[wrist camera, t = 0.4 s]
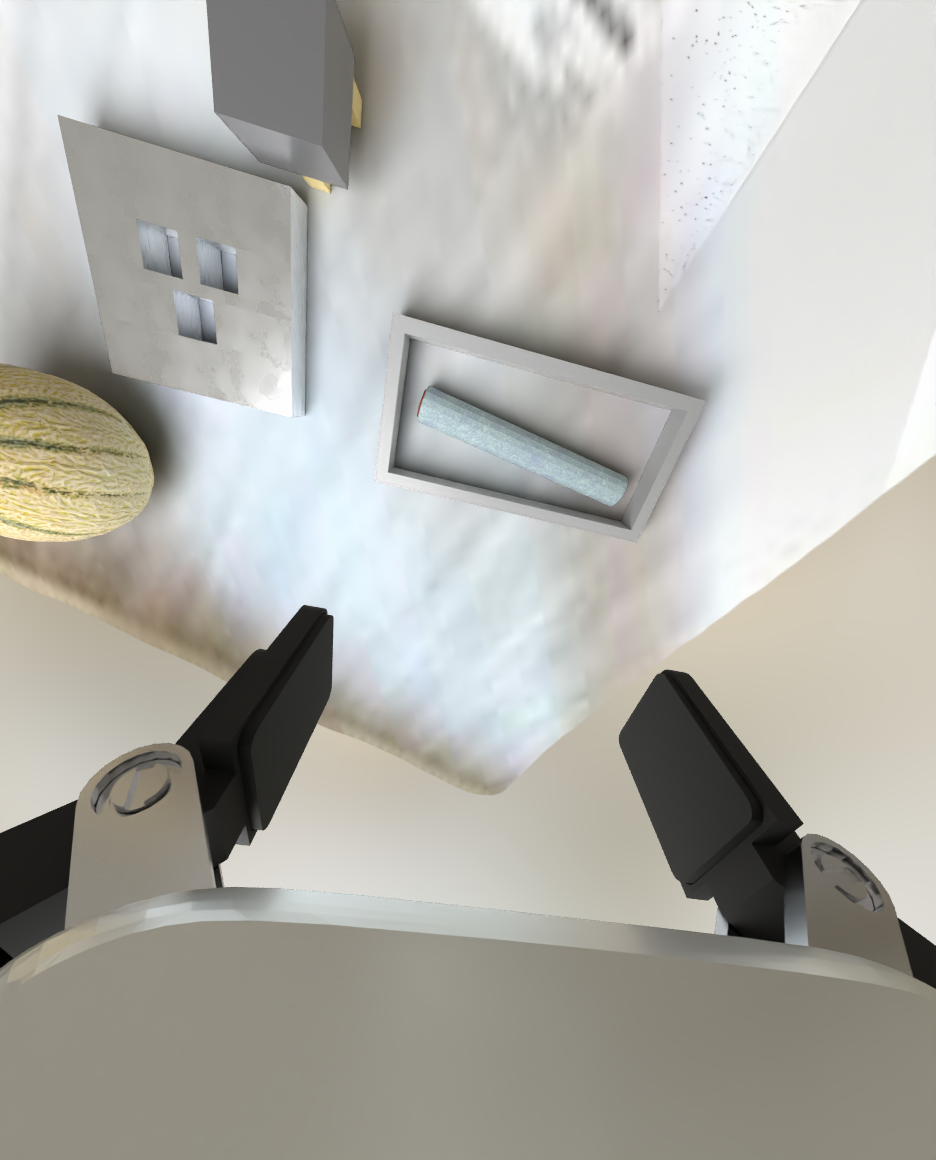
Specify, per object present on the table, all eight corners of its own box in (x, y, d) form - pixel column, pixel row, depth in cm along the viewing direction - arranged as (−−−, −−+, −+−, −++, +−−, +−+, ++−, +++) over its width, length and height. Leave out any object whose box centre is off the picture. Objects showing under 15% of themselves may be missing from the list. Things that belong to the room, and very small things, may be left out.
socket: (98, 142, 27) (57, 114, 24) (307, 206, 28) (290, 186, 26) (140, 375, 34) (112, 373, 32) (305, 415, 36) (291, 417, 33)
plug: (278, 61, 25) (201, -71, 18) (366, 92, 26) (326, -25, 19) (280, 184, 28) (214, 111, 21) (359, 209, 29) (322, 146, 21)
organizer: (399, 319, 32) (392, 312, 29) (688, 400, 35) (706, 400, 32) (381, 475, 38) (374, 481, 36) (626, 533, 41) (636, 542, 39)
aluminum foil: (418, 419, 36) (413, 421, 33) (440, 349, 33) (437, 344, 30) (604, 502, 40) (615, 510, 37) (639, 445, 37) (653, 449, 34)
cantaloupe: (179, 535, 42) (44, 599, 29) (41, 477, 39) (-181, 517, 26) (197, 418, 36) (36, 429, 23) (36, 337, 33) (-260, 295, 20)
